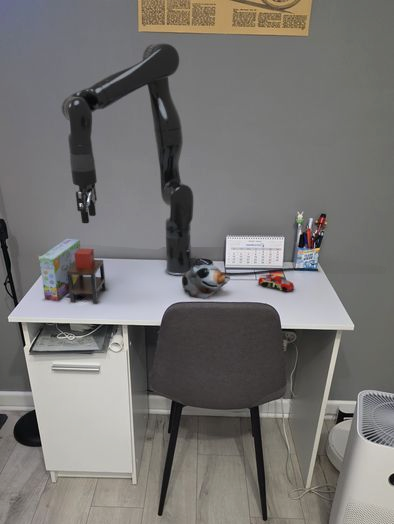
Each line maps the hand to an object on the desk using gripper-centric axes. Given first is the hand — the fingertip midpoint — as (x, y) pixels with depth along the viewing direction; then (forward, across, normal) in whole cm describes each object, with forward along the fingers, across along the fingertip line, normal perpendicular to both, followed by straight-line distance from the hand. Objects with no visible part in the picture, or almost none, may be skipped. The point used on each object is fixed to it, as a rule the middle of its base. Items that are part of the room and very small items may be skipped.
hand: (89, 219), depth 162 cm
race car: (+26, +8, -64) cm, 69 cm away
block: (+14, -6, +1) cm, 15 cm away
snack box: (+25, -1, +11) cm, 27 cm away
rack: (+25, -6, +1) cm, 26 cm away
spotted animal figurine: (+26, 0, -39) cm, 46 cm away
